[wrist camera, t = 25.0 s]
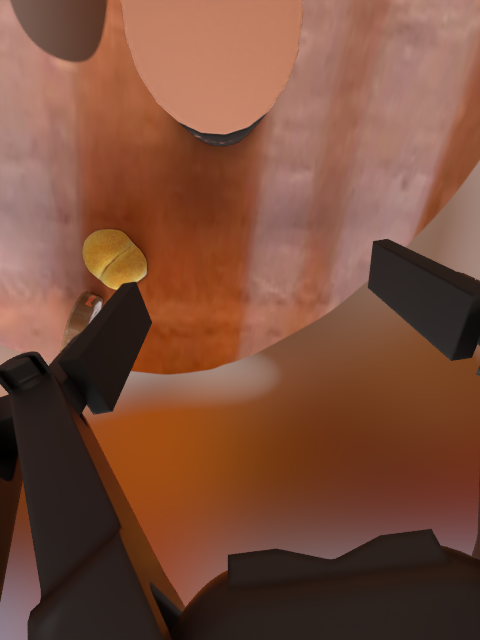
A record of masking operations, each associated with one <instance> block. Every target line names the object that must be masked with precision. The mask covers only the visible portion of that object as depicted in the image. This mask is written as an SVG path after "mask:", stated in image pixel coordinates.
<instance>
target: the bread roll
mask: <svg viewBox="0 0 480 640" xmlns="http://www.w3.org/2000/svg"><path fill="white" fill-rule="evenodd" d="M82 253H83V259H84V262H85V264H86V266H87V268H88V270H89V271H90V272H91V273H92V274H93V275H94V276H96V277H97V278H98V279H100V280H101V281H102V282H103V283H104V284H105V285H106V286H108V287H110V288H113V289H118V288H119V287H120V286H121V285H122V284H123V283H129V282H135V281H136V282H137V281H139V280H140V279H142V278H143V277H144V276H145V275H146V274H147V262H146V259H145V257H144V255H143V253H142V252H141V250H140V249H139V248H138V247H136V246H135V245H134V243H133V242H132V241H131V240H130V239H129V237H128V236H127V235H126V234H125V233H123V232H122V231H119V230H114V229H103V230H98V231H95V232H93V233H92V234H91V235H90V236H89V237H88V238H87V239H86V240H85V242H84V245H83V251H82Z"/></svg>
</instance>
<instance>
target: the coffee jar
mask: <svg viewBox="0 0 480 640" xmlns="http://www.w3.org/2000/svg"><path fill="white" fill-rule="evenodd" d="M121 6H122V14H123V22H124V30H125V37H126V40H127V43H128V46H129V49H130V51H131V54H132V57H133V60H134V63H135V66H136V69H137V71H138V74H139V75H140V77H141V78H142V80H143V82H144V83H145V85H146V86H147V88H148V89H149V91H150V93H151V94H152V96H153V97H154V99H155V101H156V102H157V103H158V104H159V105H160V106H161V107H163V108H164V109H165V110H166V111H167V112H168V113H169V114H170V115H171V116H172V117H173V118H174V119H176V120H177V121H178V122H179V123H180V124H181V125H182V126H183V127H184V128H186V129H187V130H188V131H189V132H190V133H191V134H193V135H194V136H195V137H196V138H197V139H198V140H201V141H203V142H205V143H207V144H209V145H212V146H228V145H231V144H234V143H237V142H239V141H240V140H242V139H243V138H244V137H246V136H247V135H248V134H249V133H250V132H251V131H252V130H253V129H254V128H255V127H256V125H257V124H258V123H259V122H260V121H261V120H262V119H263V118H264V116H265V115H266V113H267V112H268V111H269V110H270V109H271V107H272V106H273V105H274V103H275V102H276V100H277V99H278V97H279V96H280V94H281V93H282V91H283V90H284V88H285V87H286V85H287V83H288V80H289V77H290V74H291V72H292V69H293V66H294V63H295V60H296V58H297V55H298V51H299V42H300V34H301V26H302V18H303V9H302V0H121Z"/></svg>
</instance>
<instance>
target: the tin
mask: <svg viewBox="0 0 480 640" xmlns="http://www.w3.org/2000/svg"><path fill="white" fill-rule="evenodd" d="M102 306H103V299H102V298H101V297H99V296H97V295H94V294H91V293H88V292H87V291H85V292H83V293H82V294H81V296H80V297H79V298H78V300H77V302H76V303H75V305H74V307H73V309H72V311H71V313H70V316H69V319H68V321H67V324H66V328H65V332H64V337H63V341H62V346H61V351H62V350H63V349H64V347H66V346H67V344H68V343H69V342H70V340H71V339H72V338H73V337H75V336H76V335H77V334H79V333H80V332H81V331H83V330H84V329H85V328H86V327H87V326H88V324H89V323H90V322H91V321H92V320H93V318H94V317H95V316H96V315H97V314H98V312H99V311H100V310H101V309H102ZM61 351H60V353H61Z"/></svg>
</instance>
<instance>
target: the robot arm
mask: <svg viewBox="0 0 480 640" xmlns="http://www.w3.org/2000/svg"><path fill="white" fill-rule="evenodd" d="M368 288H369V289H370V290H371V291H372V292H373V293H375V294H376V295H377V296H378V297H379V298H380V299H382V301H384V302H385V303H386V304H387V305H388V306H389V307H390V308H392V309H393V310H394V311H395V312H396V313H397V314H398V315H400V316H401V317H402V318H403V319H404V320H405V321H406V322H407V323H409V324H410V325H411V326H412V327H413V328H414V329H416V330H417V331H418V332H419V333H420V334H421V335H422V336H423V337H425V338H426V339H427V340H428V341H429V342H430V343H431V344H432V345H434V346H435V347H436V348H437V349H438V350H439V351H440V352H442V353H443V354H444V355H445V356H446V357H447V358H449V359H450V360H451V361H453V360H460V359H466V358H472V356H473V354H474V351H475V349H476V346H477V344H478V345H479V346H480V281H479V280H475V278H473V277H471V276H468V275H466V274H464V273H460V272H456V271H454V270H452V269H449V268H447V267H445V266H443V265H441V264H439V263H437V262H435V261H433V260H431V259H429V258H426V257H424V256H422V255H420V254H418V253H416V252H414V251H412V250H410V249H408V248H406V247H403V246H401V245H399V244H397V243H395V242H393V241H391V240H389V239H384V240H378V241H373V247H372V256H371V265H370V274H369V283H368ZM151 324H152V321H151V319H150V316H149V314H148V311H147V309H146V306H145V303H144V301H143V298H142V296H141V293H140V291H139V288H138V286H137V283H136V281H135V282H129V283H123V284H122V285H121V286H120V287H119V288H118V289H117V291H116V292H115V293H114V294H113V295H112V297H111V298H110V299H109V300H108V301H107V303H106V304H105V305H104V306H103V307H102V309H101V310H100V311H99V312H98V314H97V315H96V316H95V317H94V318H93V320H92V321H91V322H90V323H89V324H88V326H87V327H86V328H85V329H84V330H83V331H81V332H80V333H79V334H77V335H76V336H75V337H73V338H72V339H71V340H70V342H69V343H68V344H67V346H66V347H64V349H63V350H62V351H61V353H59V354H58V356H57V357H56V358H55V359H54V360H53V361H52V363H51V364H50V365H49V366H48V365H47V364H46V362H45V361H44V359H43V358H42V357H41V355H40V354H39V353H38V352H27V353H23V354H20V355H18V356H15V357H13V358H11V359H9V360H7V361H6V362H4V363H3V364H2V365H0V384H1V385H2V387H3V388H4V389H5V390H6V391H7V392H8V393H9V395H6V396H3V397H0V600H1V595H2V590H3V584H4V579H5V573H6V568H7V563H8V557H9V552H10V546H11V541H12V535H13V530H14V525H15V519H16V513H17V509H18V503H19V498H20V493H21V487H22V482H23V483H24V489H25V496H26V502H27V508H28V514H29V520H30V526H31V533H32V538H33V545H34V551H35V556H36V562H37V569H38V575H39V581H40V588H41V600H40V603H39V604H38V605H37V606H36V607H35V608H34V609H33V610H32V611H31V612H30V616H29V620H28V640H480V479H479V517H478V518H479V519H478V535H477V541H476V544H475V547H474V551H473V553H472V556H470V555H468V554H466V553H463V552H461V551H458V550H454V549H452V548H448V547H445V546H441V545H440V544H439V542H438V540H437V538H436V537H435V535H434V533H433V531H432V529H427V530H420V531H412V532H404V533H396V534H388V535H381V536H378V537H377V538H375V539H373V540H371V541H369V542H367V543H365V544H363V545H361V546H359V547H357V548H356V549H354V550H352V551H350V552H348V553H346V554H344V555H342V556H340V557H338V558H336V559H324V558H319V557H315V556H310V555H305V554H300V553H295V552H290V551H285V550H280V549H270V550H262V551H255V552H247V553H239V554H231V555H228V570H227V571H225V572H223V573H221V574H220V575H218V576H217V577H215V578H214V579H213V580H211V581H210V582H209V583H207V584H206V585H205V586H204V587H203V588H202V589H201V590H200V591H199V592H198V593H197V594H196V596H195V597H194V598H193V599H192V600H191V601H190V602H189V604H188V605H187V606H186V608H185V606H184V605H183V602H182V601H181V599H180V597H179V595H178V594H177V592H176V590H175V589H174V587H173V586H172V584H171V583H170V581H169V580H168V578H167V576H166V574H165V573H164V571H163V569H162V567H161V565H160V563H159V561H158V559H157V557H156V555H155V553H154V551H153V550H152V547H151V545H150V543H149V542H148V540H147V538H146V536H145V534H144V532H143V530H142V528H141V526H140V524H139V522H138V520H137V518H136V516H135V514H134V512H133V510H132V508H131V506H130V504H129V502H128V500H127V498H126V496H125V494H124V492H123V490H122V489H121V486H120V484H119V482H118V481H117V479H116V477H115V475H114V473H113V471H112V469H111V467H110V465H109V463H108V461H107V459H106V457H105V455H104V453H103V451H102V449H101V447H100V445H99V443H98V441H97V439H96V437H95V435H94V433H93V432H92V429H91V427H90V425H89V424H88V422H87V420H86V418H85V417H84V415H83V414H82V412H83V410H84V408H85V406H86V405H87V406H88V407H89V408H90V410H91V411H92V413H93V414H100V413H107V412H112V411H113V409H114V407H115V404H116V402H117V400H118V398H119V396H120V393H121V391H122V389H123V387H124V384H125V382H126V380H127V378H128V376H129V373H130V371H131V369H132V367H133V364H134V362H135V360H136V358H137V355H138V353H139V351H140V349H141V346H142V344H143V342H144V340H145V338H146V335H147V333H148V331H149V329H150V326H151ZM476 375H480V366H479V369H478V371H477V373H476Z"/></svg>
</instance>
